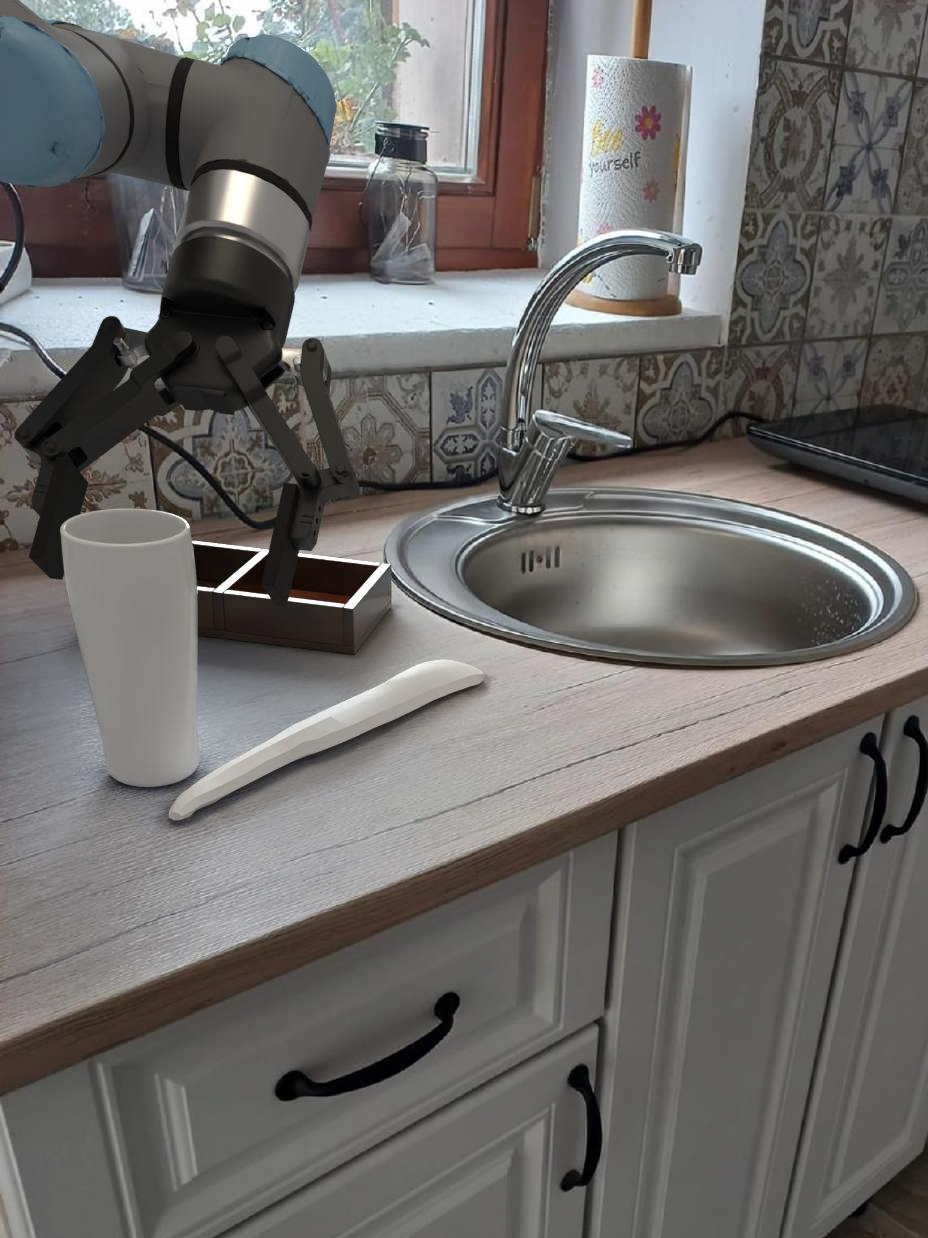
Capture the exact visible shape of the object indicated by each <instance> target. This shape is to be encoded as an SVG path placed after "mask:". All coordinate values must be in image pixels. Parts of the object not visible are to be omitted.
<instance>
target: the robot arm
mask: <svg viewBox="0 0 928 1238" xmlns="http://www.w3.org/2000/svg"><path fill="white" fill-rule="evenodd" d="M337 106H338V105H337V99H336V92H335V89H334V86H333V84H332V81H331V78H330V77H329V76H328V74H327V72H326V70H325V69H324V67H322V65H321V64H320V63H319V61H318V60H317V59H316V58H315V57H314V56H313V55H311V54H310V53H309V52H308V51H306V50H305V49H304V48H303V47H301V46H299V45H298V44H296V43H295V42H293V41H290V40H289V39H286V38H284V37H281V36H277V35H273V34H270V33H269V34H268V33H260V34H259V35H256V36H250V37H249V36H247V35H246V36H242V37H240V38H238V39H237V40H235V41H233V43H232V44H231V45H230V46H229V47H228V48H227V50H226V53H225V55H224V56H223V57H222V58H221V59H220V62H219V64H217V63H213V62H210V61H207V60H203V59H198V58H197V59H195V58H192V57H188V56H185V57H183V56H179V55H176V54H172V53H169V52H166V51H163V50H159V49H157V48H153V47H150V46H146V45H142V44H139V43H136V42H133V41H131V40H130V41H129V40H126V39H123V38H120V37H116V36H112V35H109V34H105V33H101V32H99V31H95V30H91V29H88V28H84V27H83V26H81V25H78V24H75V23H72V22H71V21H69V22H68V21H62V20H59V19H46V18H42V17H40V16H39V14H37V13H36V12H34V11H33V10H32V9H31V8H30V7H28V6H27V5H26V4H25V3H24V2H22V1H21V0H0V183H4V184H10V185H16V186H21V187H27V188H42V187H43V188H44V187H45V188H46V187H50V188H51V187H58V186H63V185H66V184H69V183H70V182H71V181H73V180H76V179H77V180H78V179H80V178H91V177H99V176H104V175H110V174H118V175H122V176H127V177H130V178H134V179H138V180H143V181H148V182H152V183H156V184H160V185H165V186H169V187H173V188H175V189H178V190H182V191H186V192H188V195H187V197H186V202H185V205H184V209H183V213H182V216H181V219H180V223H179V227H178V230H177V233H176V236H175V237H176V238H175V249H174V250H173V252H172V254H171V258H170V262H169V265H168V269H167V273H166V277H165V281H164V284H163V288H162V291H161V296H160V304H159V316H158V317H157V320H156V322H155V323H154V325H153V326H152V327H151V328H150V329H149V330H148V331H142V330H139V329H133V328H129V327H125V326H124V324H123V323H122V320H120V318H119V317H118V316H115V315H108V316H106V317H104V318H103V319H102V321H101V322H100V324H99V327H98V329H97V331H96V334H95V337H94V339H93V341H92V344H91V346H90V347H89V348H88V349H87V350H86V351H85V353H83V355H82V356H81V357H80V358H79V359H78V360H77V361H76V362H75V363H74V364H73V365H72V367H71V368H70V369H69V370H68V371H67V372H66V373H65V374H64V376H63V377H62V378H61V379H60V380H59V381H58V382H57V383H56V384H55V386H54V387H53V388H52V389H51V390H50V391H49V393H48V394H46V396H45V397H44V398H43V399H42V400H41V401H40V403H38V405H37V406H36V407H35V408H34V409H33V410H32V411H31V412H30V413H29V415H28V416H26V418H25V419H24V420H23V421H22V422H21V424H20V425H19V426H18V427H17V428H16V430H15V431H14V435H13V436H14V439H15V441H16V442H17V443H18V444H19V445H20V447H21V448H22V449H23V451H25V452H26V453H27V455H28V456H29V457H30V458H31V459H32V460H33V461H34V463H35V464H37V465H40V467H39V471H38V474H37V477H36V481H35V486H34V489H33V492H32V496H31V499H30V502H31V509H32V510H33V511H34V512H35V513H36V514H37V515H38V516H39V518H38V522H37V526H36V528H35V532H34V536H33V539H32V544H31V547H30V551H29V553H28V558H29V560H31V561H32V562H33V563H34V564H35V565H36V566H37V567H38V568H39V569H40V570H41V571H42V573H44V574H45V575H46V576H47V577H48V578H49V579H50V580H51V579H52V580H61V581H63V580H64V577H65V574H64V566H63V557H62V546H61V534H60V528H61V525H62V524H63V523H64V522H65V521H67V520H68V519H70V518H72V517H74V516H77V515H80V514H82V509H83V506H84V501H85V497H86V494H87V490H88V486H89V481H88V480H87V479H86V477H84V475H83V474H82V471H83V470H85V469H86V468H87V467H89V466H90V465H92V464H93V463H94V462H96V461H97V460H98V459H99V458H101V457H102V456H104V455H105V454H107V453H108V452H109V451H111V450H112V449H113V448H114V447H115V446H117V445H118V444H120V443H122V442H123V441H124V440H125V439H127V438H128V437H129V436H131V435H132V434H133V433H135V432H136V431H138V430H139V429H140V428H141V427H143V426H144V425H145V424H147V423H148V422H149V421H151V420H152V419H153V418H155V417H157V416H158V417H164V416H167V415H168V414H170V413H171V412H172V411H173V410H175V409H176V408H177V407H179V406H180V405H181V406H182V408H183V409H184V411H185V410H186V411H190V412H191V411H193V412H201V411H208V410H209V411H210V410H211V411H213V412H216V413H219V414H221V415H229V416H235V413H236V412H239V411H241V410H243V409H246V408H248V409H249V411H250V412H251V414H252V416H253V417H254V419H255V420H256V422H257V424H258V425H259V426H260V427H261V429H262V430H263V431H264V433H265V435H266V436H267V438H268V439H269V441H270V442H271V444H272V446H273V447H274V449H275V450H276V452H277V453H278V455H279V457H280V458H281V459H282V461H283V463H284V465H286V468H287V469H288V470H289V472H290V473H291V475H292V476H293V478H294V479H295V481H296V483H292V482H291V483H290V482H283V484H282V489H281V493H280V498H279V503H278V508H277V510H276V511H277V512H276V517H275V521H274V524H273V530H272V534H271V539H270V542H269V547H268V550H269V552H268V556H267V560H266V565H265V569H264V574H263V578H262V583H261V585H262V586H263V588H264V589H265V591H266V592H267V594H268V595H269V597H270V598H271V600H272V602H273V603H274V605H281V606H287V604H288V599H289V595H290V590H291V586H292V581H293V576H294V572H295V567H296V563H297V558H298V553H299V552H300V551H304V552H305V551H306V552H312V551H313V550H314V549H315V547H316V546H317V542H318V538H319V533H320V528H321V524H322V520H323V515H324V509H325V507H326V505H327V504H329V502H330V501H332V500H337V499H344V500H347V501H353V500H355V499H357V498H358V497H359V496H360V494H361V487H360V485H359V481H358V478H357V475H356V472H355V468H354V465H353V463H352V459H351V457H350V453H349V450H348V448H347V445H346V441H345V438H344V435H343V432H342V429H341V426H340V423H339V420H338V417H337V414H336V411H335V408H334V405H333V401H332V399H331V396H330V391H331V381H332V380H331V379H332V367H331V364H330V362H329V359H328V356H327V354H326V351H325V349H324V346H323V343H322V342H321V340H320V339H318V338H317V337H309V338H307V339H305V340H304V341H303V343H302V346H301V347H284V346H285V344H286V342H287V336H288V333H289V329H290V325H291V320H292V315H293V311H294V307H295V302H296V294H295V293H296V291H297V290H298V288H299V283H300V279H301V275H302V271H303V267H304V266H303V265H304V261H305V257H306V253H307V248H308V245H309V239H310V235H311V231H312V226H313V221H314V218H315V213H316V210H317V206H318V203H319V202H318V201H319V197H320V194H321V190H322V185H323V182H324V179H325V174H326V171H327V167H328V165H329V164H330V159H331V142H332V137H333V131H334V124H335V120H336V119H335V118H336V112H337ZM144 356H148V357H147V358H145V359H144V360H143V361H141V362H139V363H138V360H139V359H140V358H142V357H144ZM129 369H130V370H131V371H130V372H129V377H128V379H127V380H125V381H124V382H122V381H123V379H124V378H125V376H126V375H127V372H128V370H129ZM285 372H290V373H291V375H292V377H293V378H294V381H295V383H296V384H297V385H298V386H301V387H303V389H304V392H305V395H306V399H307V401H308V404H309V408H310V412H311V415H312V417H313V420H314V423H315V426H316V429H317V433H318V435H319V439H320V442H321V446H322V448H323V452H324V455H325V457H326V461H327V464H328V467H327V468H322V469H317V465H316V464H314V462H313V461H312V460H311V458H310V457H309V455H308V454H307V452H306V451H305V448H304V447H303V446H302V445H301V443H300V442H299V440H298V439H297V437H296V435H295V434H294V433H293V430H291V428H290V426H289V425H288V423H287V422H286V420H285V419H284V417H283V415H282V413H280V411H279V409H278V408H277V406H276V405H275V403H274V402H273V400H272V398H271V396H270V395H269V394H268V392H267V390H268V389H269V388H270V387H271V386H272V385H274V384H275V383H276V382H277V381H279V380H280V378H282V377H283V376H284V374H285ZM159 379H160V380H161V382H162V385H163V386H164V388H162V389H161V390H160V391H158V389H157V388H156V386H155V384H156V382H157V381H158V380H159ZM120 383H121V384H120ZM119 384H120V385H119Z"/></svg>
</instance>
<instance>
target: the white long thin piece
mask: <svg viewBox="0 0 928 1238" xmlns="http://www.w3.org/2000/svg"><path fill="white" fill-rule="evenodd" d="M484 676H485V675H484V671H482V670H481V669H479V668H477V667H475V666H472V665H470V664H467V663H464V662H461V661H457V660H453V659H444V658H443V659H442V658H441V659H435V660H428V661H424V662H421V663H418V664H416V665H413V666H411V667H410V668H407V669H405V670H403V671H402V672H400V673H398V674H396V675H394V676H392V677H390V678H389V679H387V680H385V681H384V682H382V683H380V684H379V685H377V686H374V687H372V688H370V689H367V690H366V691H363V692H361V693H359V694H357V695H355V696H352V697H350V698H348V699H346V700H343V701H341V702H338V703H337V704H335V705H332V706H329V707H328V708H325V709H324V710H321V711H320V712H317V713H315V714H313V715H311V716H309V717H307V718H304V719H302V720H300V721H298V722H296V723H294V724H292V725H290V726H288V727H287V728H285V729H283V730H282V731H281V732H279V733H278V734H276V735H275V736H273V737H271V738H269V739H268V740H266V741H264V742H262V743H260V744H258V745H257V746H255V747H253V748H252V749H250V750H248V751H246V752H244V753H242V754H240V755H239V756H237V757H235V758H233V759H232V760H230V761H228V762H226V763H225V764H223V765H221V766H219V767H218V768H215V769H214V770H213V771H211V772H210V773H208V774H207V775H204V777H202V778H201V779H198V780H197V781H196V782H195V783H193V785H191V786H190V787H188V788H187V789H185V790H184V791H183V792H182V793H180V794H179V795H178V796H177V797H176V798H175V800H174V801H173V803H172V805H171V806H170V808H169V811H168V818H169V819H170V820H173V821H181V820H184V819H187V818H190V817H191V816H192V815H193V814H194V813H195V812H196V811H197V810H200V809H203V808H204V807H207V806H210V805H212V804H214V803H216V802H217V801H219V800H221V799H223V798H224V797H226V796H228V795H230V794H231V793H233V792H235V791H236V790H238V789H240V788H242V787H245V786H246V785H248V784H250V783H252V782H254V781H256V780H259V779H260V778H262V777H263V776H266V775H268V774H269V773H271V772H274V771H276V770H278V769H280V768H281V767H284V766H286V765H288V764H290V763H292V762H295V761H297V760H301V759H303V758H306V757H308V756H311V755H314V754H317V753H320V752H322V751H324V750H327V749H329V748H332V747H334V746H335V747H336V746H337V745H340V744H342V743H344V742H347V741H348V740H351V739H353V738H356V737H358V736H361V735H362V734H364V733H366V732H368V731H371V730H373V729H375V728H377V727H379V726H382V725H385V724H388V723H390V722H392V721H394V720H396V719H399V718H400V717H403V716H405V715H406V714H409V713H411V712H413V711H415V710H417V709H419V708H421V707H423V706H425V705H427V704H429V703H430V702H433V701H435V700H437V699H440V698H442V697H445V696H448V695H450V694H453V693H454V692H458V691H461V690H464V689H468V688H470V687H473V686H477V685H479V684H481V683H482V682H483V681H484Z"/></svg>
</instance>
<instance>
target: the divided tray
mask: <svg viewBox="0 0 928 1238" xmlns="http://www.w3.org/2000/svg"><path fill="white" fill-rule="evenodd" d="M192 544H193V551H194V558H195V567H196V579H197V595H198V636H202V637H207V638H209V637H210V638H215V639H216V638H218V639H225V640H233V641H242V642H251V643H259V644H264V645H265V644H266V645H267V644H268V645H275V646H282V647H292V648H299V649H305V650H306V649H307V650H316V651H321V652H322V651H324V652H330V653H331V652H332V653H339V654H347V655H355V654H356V653H357V652H358V651H359V649H360V648H361V647H362V645H363V644H364V643H365V641H366V640H367V639H368V637H369V636H370V635H371V634H372V632H373V631H374V630H375V628H377V626H378V625H379V623H381V621H382V619H383V618H385V616H386V615H387V613H388V612H389V611H390V610H391V608H392V605H393V602H392V599H393V598H392V596H393V595H392V592H393V591H392V590H393V589H392V588H393V587H392V564H391V563H381V562H374V561H365V560H358V559H350V558H340V557H331V556H325V555H318V554H317V555H316V554H307V553H298V558H297V563H296V567H295V572H294V576H293V581H292V586H291V590H290V595H289V599H288V604H287V606H281V605H274V603H273V602H272V600H271V598H270V597H269V595H268V594H267V592H266V591H265V589H264V588H263V586H262V585H261V583H262V578H263V574H264V569H265V565H266V560H267V556H268V552H269V549H266V548H265V549H264V548H258V547H257V548H256V547H248V546H240V545H233V544H232V545H231V544H223V543H214V542H207V541H197V540H192Z"/></svg>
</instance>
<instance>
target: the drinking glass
mask: <svg viewBox="0 0 928 1238" xmlns="http://www.w3.org/2000/svg"><path fill="white" fill-rule="evenodd" d="M60 534H61V546H62V557H63V566H64V581H65V586H66V587H65V588H66V592H67V598H68V604H69V608H70V613H71V617H72V622H73V626H74V630H75V634H76V639H77V643H78V646H79V651H80V654H81V660H82V662H83V668H84V671H85V675H86V680H87V684H88V688H89V692H90V696H91V701H92V705H93V709H94V713H95V717H96V722H97V726H98V730H99V736H100V739H101V746H102V753H103V760H104V764H105V768H106V770H107V772H108V774H109V775H110V776H111V777H112V778H113V779H114V780H116V781H118V782H120V783H121V784H124V785H127V786H132V787H139V788H158V787H164V786H169V785H173V784H176V783H179V782H181V781H183V780H185V779H188V777H190V776H191V775H192V774H194V772H195V771H197V769H198V767H199V764H200V758H201V754H200V744H199V743H200V742H199V725H198V723H199V722H198V721H199V720H198V719H199V717H198V712H199V711H198V707H199V706H198V705H199V704H198V702H199V701H198V696H199V695H198V676H199V675H198V667H199V666H198V663H199V662H198V660H199V659H198V656H199V655H198V654H199V653H198V652H199V650H198V648H199V647H198V646H199V644H198V643H199V641H198V640H199V635H198V595H197V579H196V567H195V558H194V551H193V544H192V541H193V538H192V531H191V525H190V524H189V522H188V521H187V520H186V519H184V518H183V517H180V516H178V515H176V514H173V513H170V512H167V511H161V510H154V509H148V508H147V509H146V508H109V509H108V508H107V509H99V510H93V511H87V512H84V513H80V515H77V516H74V517H72V518H70V519H68V520H67V521H65V522H64V523H63V524H62V525H61V528H60Z"/></svg>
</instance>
